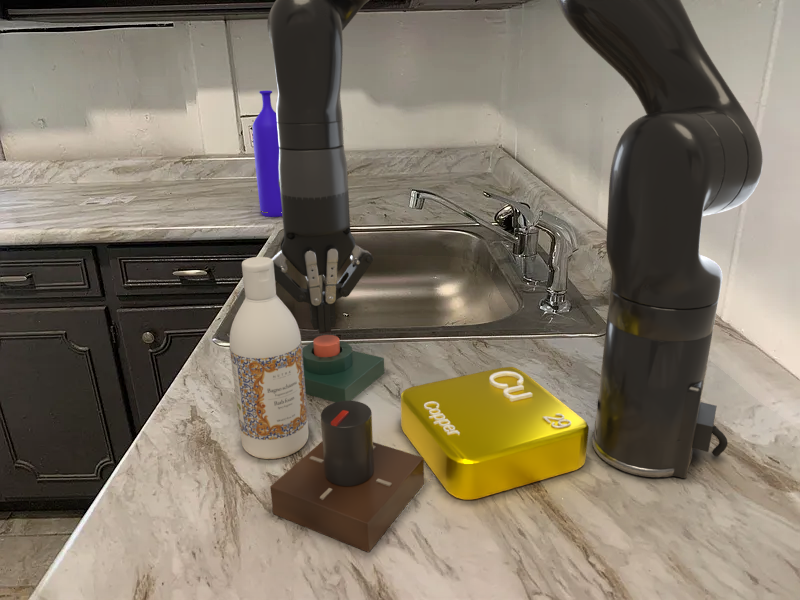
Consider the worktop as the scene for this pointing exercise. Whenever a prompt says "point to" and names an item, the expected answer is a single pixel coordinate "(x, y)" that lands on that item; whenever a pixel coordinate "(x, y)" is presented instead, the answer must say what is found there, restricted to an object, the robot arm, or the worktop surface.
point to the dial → (347, 442)
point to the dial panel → (349, 496)
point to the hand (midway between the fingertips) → (324, 330)
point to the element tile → (492, 431)
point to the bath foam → (267, 367)
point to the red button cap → (326, 346)
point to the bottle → (267, 158)
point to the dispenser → (340, 373)
